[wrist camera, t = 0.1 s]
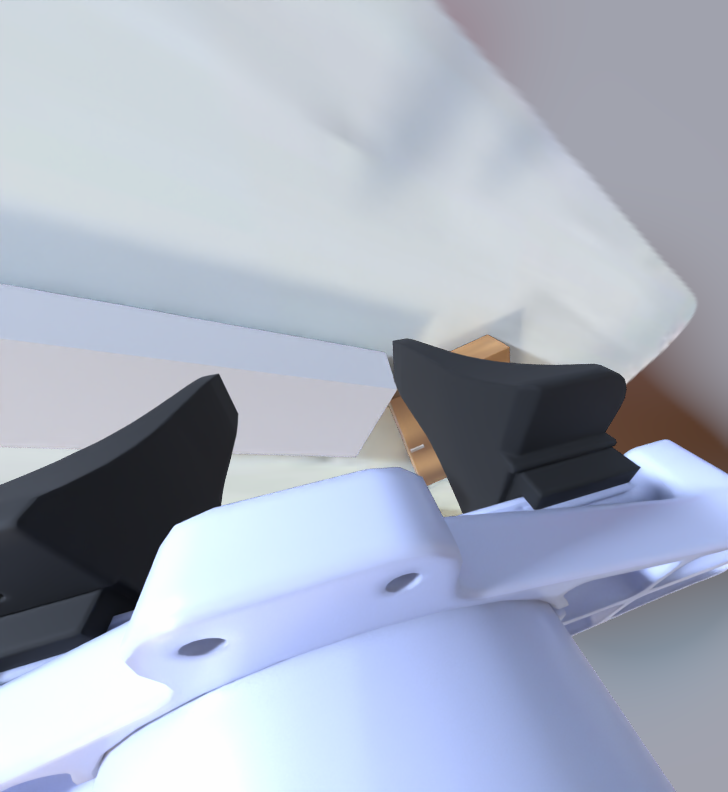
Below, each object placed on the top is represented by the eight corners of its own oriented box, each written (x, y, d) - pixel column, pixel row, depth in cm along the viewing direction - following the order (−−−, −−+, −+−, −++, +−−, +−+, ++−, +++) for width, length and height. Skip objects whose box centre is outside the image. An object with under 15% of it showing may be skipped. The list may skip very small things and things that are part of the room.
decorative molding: (350, 418, 29) (384, 347, 22) (356, 457, 26) (397, 389, 19) (-137, 378, 17) (-383, 205, 11) (-232, 440, 14) (-671, 252, 7)
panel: (494, 432, 32) (512, 450, 30) (413, 467, 33) (424, 488, 30) (488, 333, 24) (511, 347, 22) (379, 382, 24) (389, 401, 22)
